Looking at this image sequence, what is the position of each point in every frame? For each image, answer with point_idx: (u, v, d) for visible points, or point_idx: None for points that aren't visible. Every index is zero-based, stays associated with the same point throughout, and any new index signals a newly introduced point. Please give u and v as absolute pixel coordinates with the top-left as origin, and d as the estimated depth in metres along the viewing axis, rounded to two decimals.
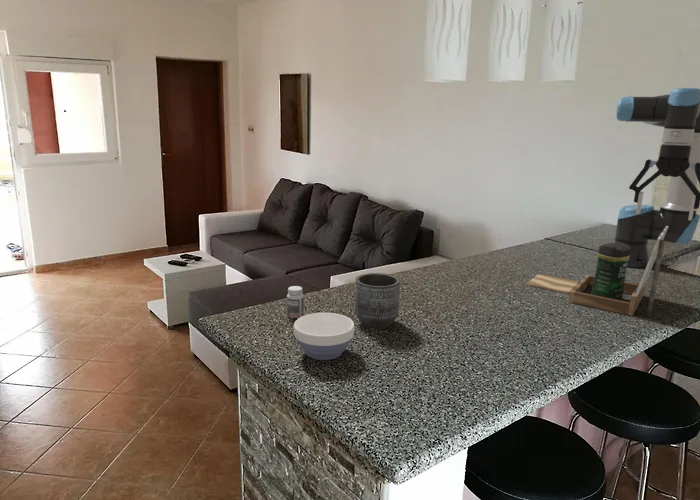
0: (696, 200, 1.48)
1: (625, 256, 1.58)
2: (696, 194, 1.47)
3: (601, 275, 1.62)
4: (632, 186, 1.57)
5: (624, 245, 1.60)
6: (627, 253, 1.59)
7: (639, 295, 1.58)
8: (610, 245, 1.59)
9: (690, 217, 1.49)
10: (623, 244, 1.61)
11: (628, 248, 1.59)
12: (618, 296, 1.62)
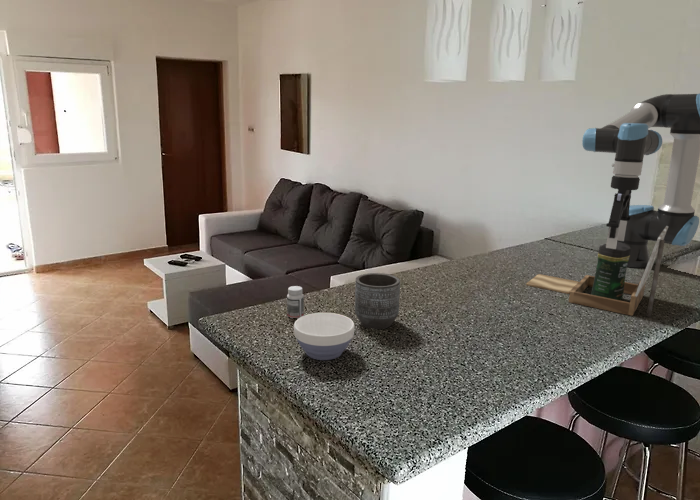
0: None
1: (625, 256, 1.58)
2: None
3: (601, 275, 1.62)
4: None
5: (624, 245, 1.60)
6: (627, 253, 1.59)
7: (639, 295, 1.58)
8: None
9: (606, 244, 1.56)
10: (623, 244, 1.61)
11: (628, 248, 1.59)
12: (618, 296, 1.62)
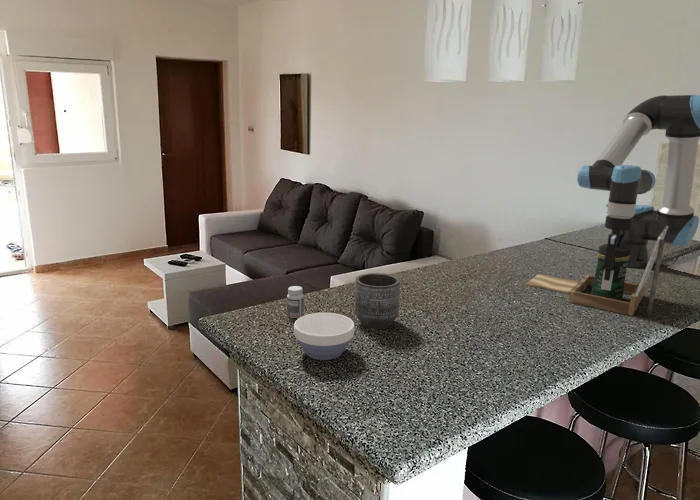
0: None
1: (625, 256, 1.58)
2: None
3: (601, 275, 1.62)
4: None
5: (624, 245, 1.60)
6: (627, 253, 1.59)
7: (639, 295, 1.58)
8: None
9: (601, 286, 1.61)
10: (623, 244, 1.61)
11: (628, 248, 1.59)
12: (618, 296, 1.62)
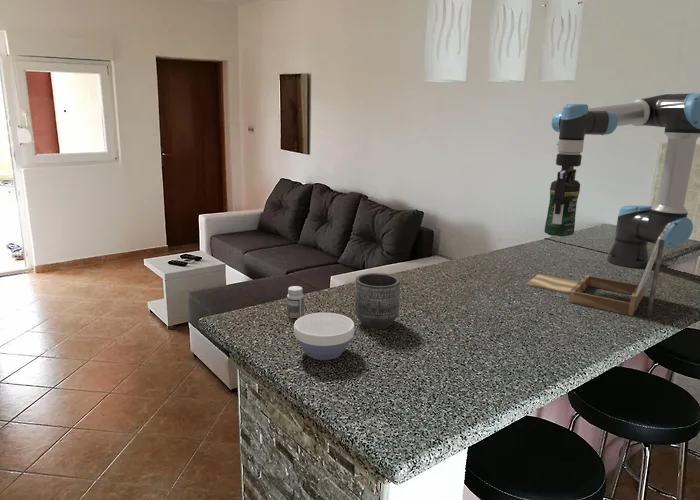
0: None
1: (574, 191, 1.67)
2: None
3: (552, 211, 1.70)
4: None
5: (574, 181, 1.69)
6: (576, 189, 1.67)
7: (639, 295, 1.58)
8: None
9: None
10: (573, 180, 1.69)
11: (577, 184, 1.68)
12: (569, 230, 1.70)
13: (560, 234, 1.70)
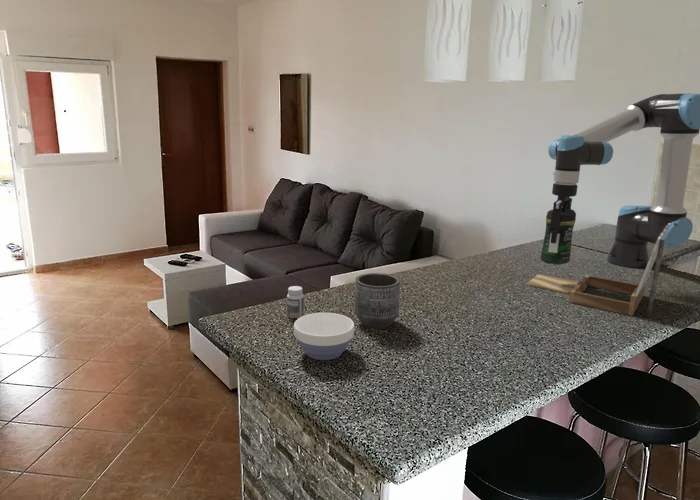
0: None
1: (570, 221, 1.70)
2: None
3: (548, 239, 1.73)
4: None
5: (570, 211, 1.72)
6: (572, 218, 1.70)
7: (639, 295, 1.58)
8: None
9: None
10: (569, 210, 1.72)
11: (573, 213, 1.71)
12: (564, 259, 1.73)
13: (556, 262, 1.72)
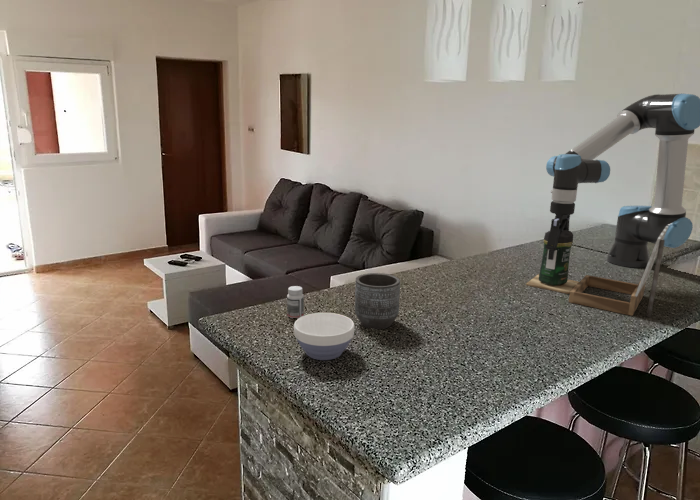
0: None
1: (567, 242, 1.72)
2: None
3: (546, 260, 1.75)
4: None
5: (567, 232, 1.74)
6: (569, 239, 1.72)
7: (639, 295, 1.58)
8: None
9: (546, 265, 1.73)
10: (566, 231, 1.74)
11: (571, 235, 1.73)
12: (562, 279, 1.75)
13: (554, 283, 1.74)
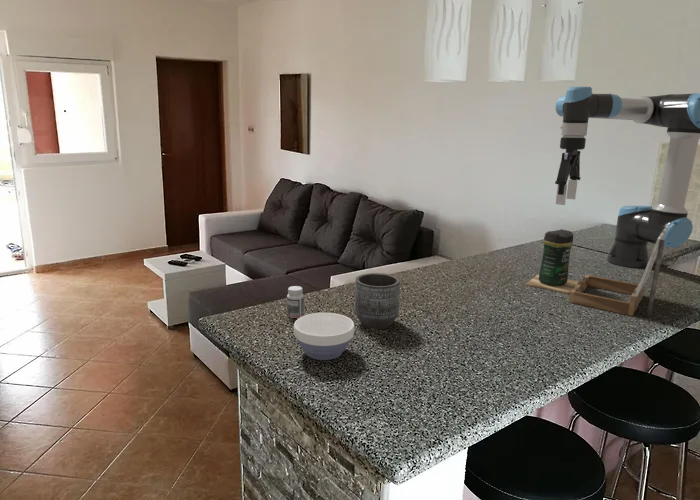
0: None
1: (567, 242, 1.72)
2: None
3: (546, 260, 1.75)
4: None
5: (567, 232, 1.74)
6: (569, 240, 1.72)
7: (639, 295, 1.58)
8: (554, 232, 1.72)
9: (556, 201, 1.68)
10: (566, 231, 1.74)
11: (571, 235, 1.73)
12: (562, 279, 1.75)
13: (554, 283, 1.74)
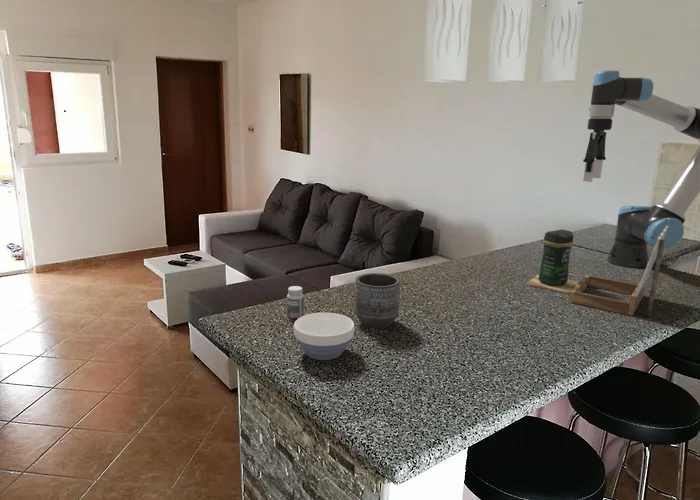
0: None
1: (567, 242, 1.72)
2: None
3: (546, 260, 1.75)
4: None
5: (567, 232, 1.74)
6: (569, 240, 1.72)
7: (639, 295, 1.58)
8: (554, 232, 1.72)
9: None
10: (566, 231, 1.74)
11: (571, 235, 1.73)
12: (562, 279, 1.75)
13: (554, 283, 1.74)
